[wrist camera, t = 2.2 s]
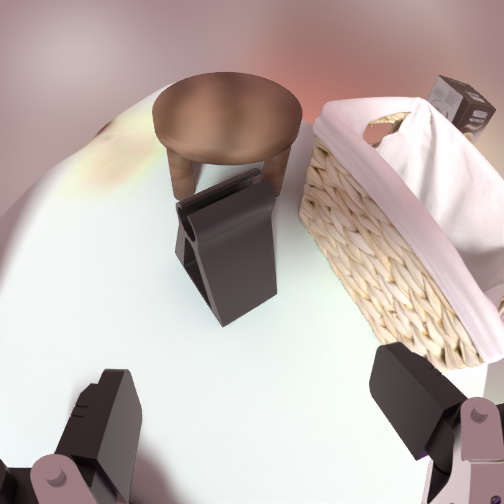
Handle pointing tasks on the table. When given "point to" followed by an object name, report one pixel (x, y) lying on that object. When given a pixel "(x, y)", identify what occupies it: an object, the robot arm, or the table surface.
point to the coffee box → (461, 106)
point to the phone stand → (229, 244)
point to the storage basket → (411, 227)
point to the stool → (226, 125)
